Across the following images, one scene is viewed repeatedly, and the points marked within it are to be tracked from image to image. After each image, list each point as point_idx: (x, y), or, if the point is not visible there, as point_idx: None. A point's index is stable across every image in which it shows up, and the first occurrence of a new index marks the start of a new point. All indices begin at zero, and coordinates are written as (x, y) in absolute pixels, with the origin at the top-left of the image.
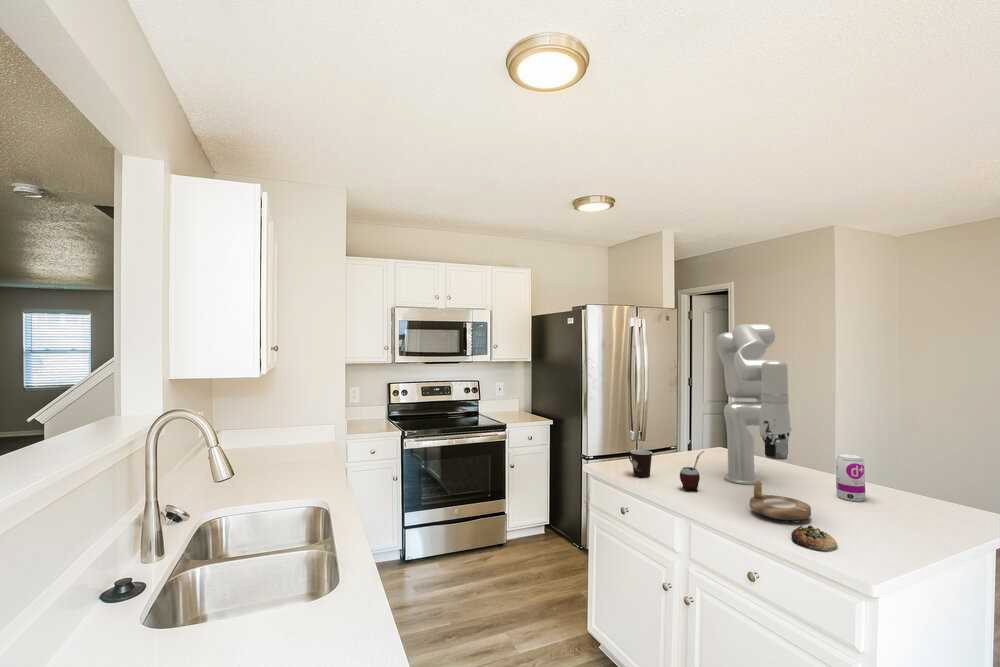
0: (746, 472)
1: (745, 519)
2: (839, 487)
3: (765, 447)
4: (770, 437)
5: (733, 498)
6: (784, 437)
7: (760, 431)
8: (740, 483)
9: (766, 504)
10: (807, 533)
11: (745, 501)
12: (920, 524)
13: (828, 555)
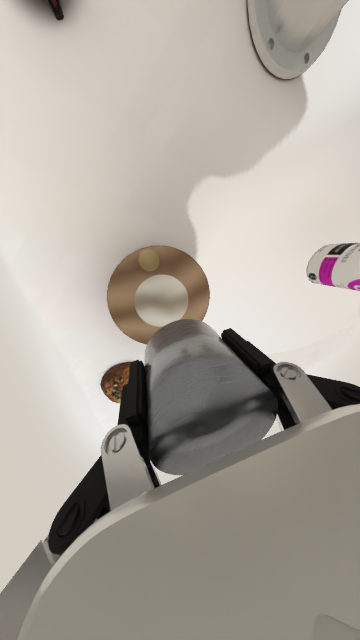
0: (306, 4)
1: (84, 297)
2: (327, 261)
3: (128, 396)
4: (226, 398)
5: (142, 167)
6: (282, 425)
7: (26, 630)
8: (255, 43)
9: (133, 300)
10: (113, 395)
11: (155, 203)
12: (277, 353)
13: (117, 404)
